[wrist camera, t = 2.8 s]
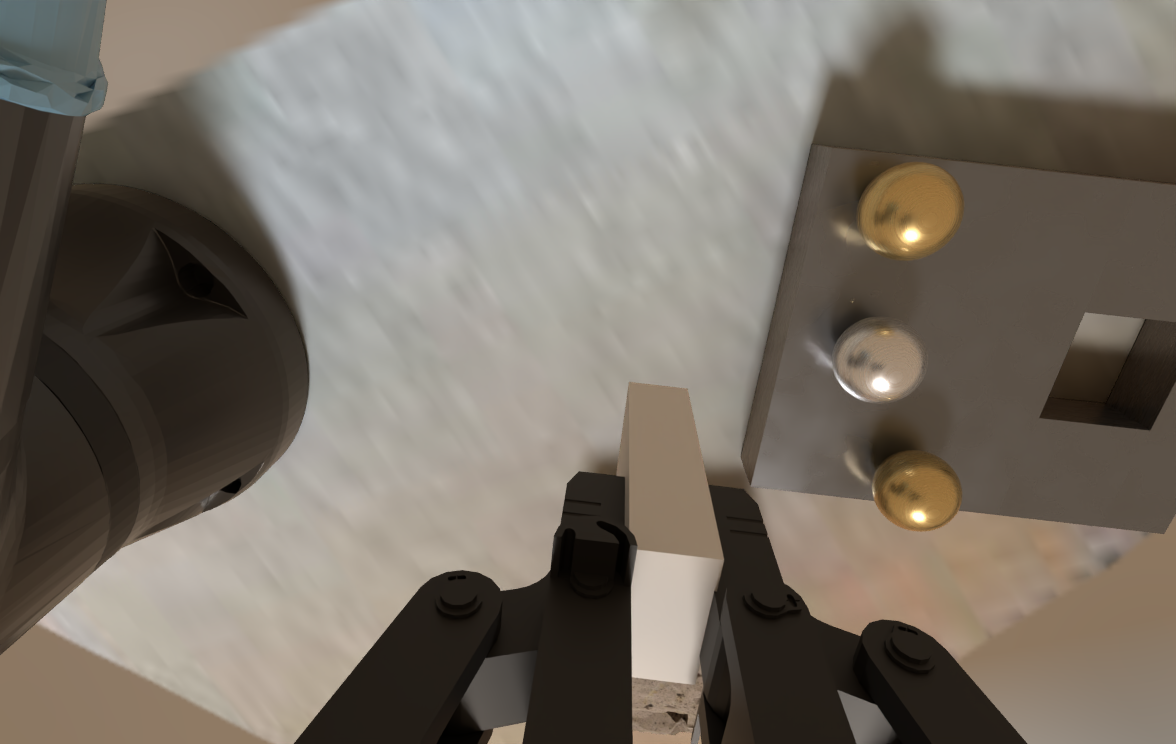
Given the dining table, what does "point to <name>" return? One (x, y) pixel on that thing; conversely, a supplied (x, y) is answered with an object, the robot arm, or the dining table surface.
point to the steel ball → (879, 360)
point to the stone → (665, 705)
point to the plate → (980, 344)
